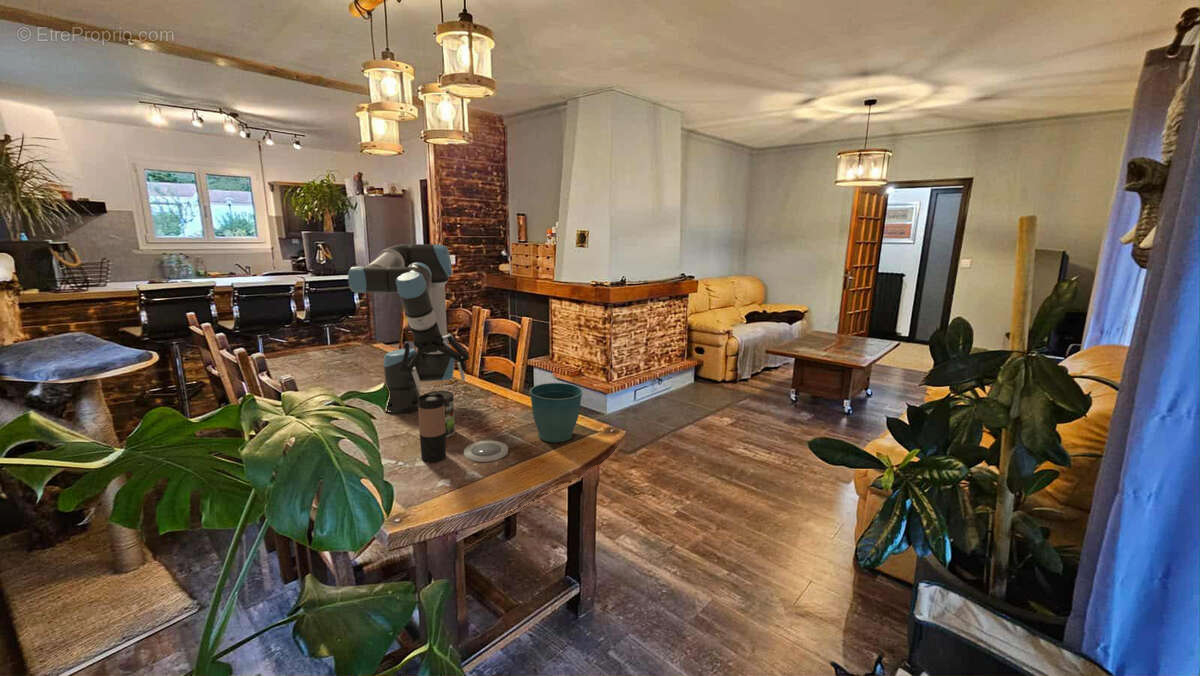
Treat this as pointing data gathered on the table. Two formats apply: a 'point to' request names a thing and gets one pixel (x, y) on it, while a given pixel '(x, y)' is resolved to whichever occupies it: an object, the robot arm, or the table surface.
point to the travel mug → (432, 427)
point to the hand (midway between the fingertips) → (441, 382)
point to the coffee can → (447, 410)
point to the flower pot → (555, 410)
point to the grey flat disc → (485, 451)
